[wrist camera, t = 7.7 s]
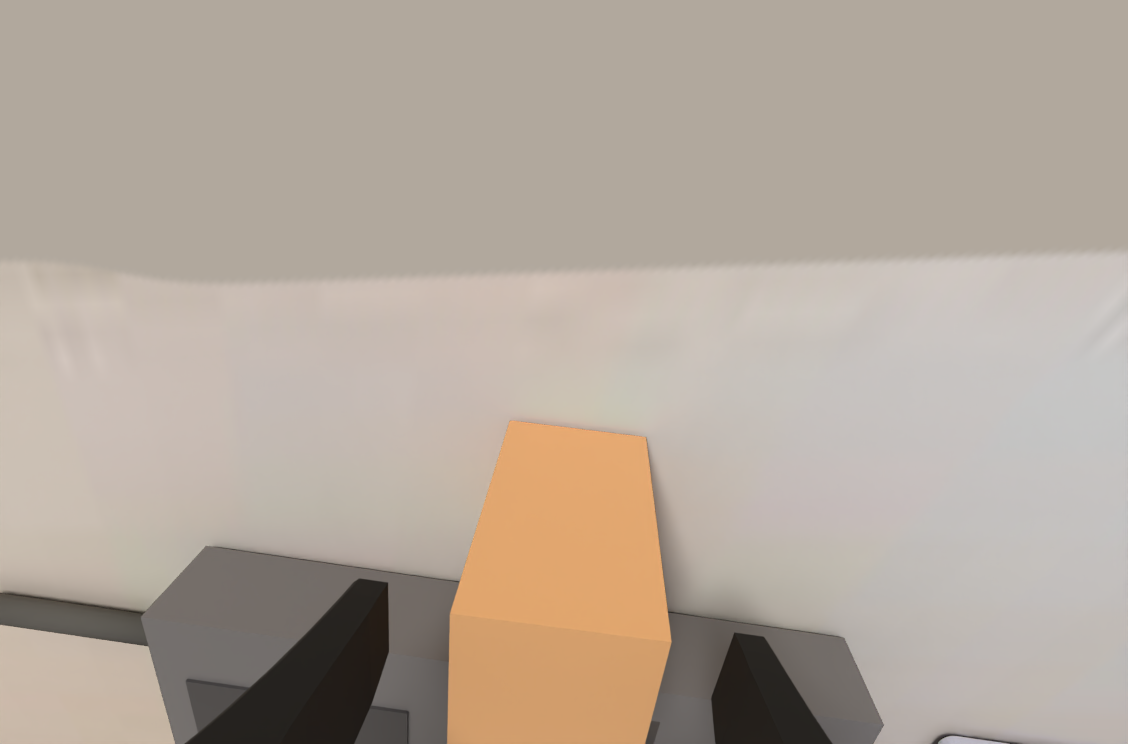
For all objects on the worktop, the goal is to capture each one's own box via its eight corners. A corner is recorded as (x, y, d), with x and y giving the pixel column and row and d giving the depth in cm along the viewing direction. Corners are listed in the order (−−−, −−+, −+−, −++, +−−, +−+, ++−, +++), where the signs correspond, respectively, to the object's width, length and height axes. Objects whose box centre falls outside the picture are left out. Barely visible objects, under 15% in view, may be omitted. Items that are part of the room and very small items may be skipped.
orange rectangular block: (645, 437, 16) (671, 642, 10) (625, 542, 18) (636, 775, 12) (510, 420, 16) (449, 613, 10) (502, 527, 18) (446, 750, 12)
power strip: (844, 637, 19) (885, 728, 16) (777, 777, 22) (802, 872, 20) (-51, 508, 19) (-163, 575, 17) (16, 666, 23) (-67, 744, 20)
